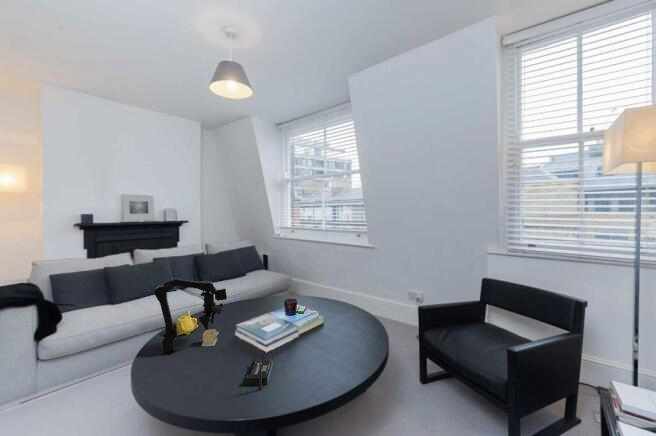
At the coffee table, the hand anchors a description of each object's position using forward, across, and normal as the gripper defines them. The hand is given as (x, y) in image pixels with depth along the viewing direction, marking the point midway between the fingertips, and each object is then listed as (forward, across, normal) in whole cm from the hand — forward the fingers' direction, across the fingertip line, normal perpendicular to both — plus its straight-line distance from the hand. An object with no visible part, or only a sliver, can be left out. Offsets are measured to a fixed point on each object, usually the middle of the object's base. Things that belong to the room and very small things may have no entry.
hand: (209, 326), depth 175 cm
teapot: (+11, +17, +21) cm, 29 cm away
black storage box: (+11, -38, -36) cm, 54 cm away
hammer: (+10, +5, 0) cm, 12 cm away
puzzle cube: (+11, +27, -54) cm, 61 cm away
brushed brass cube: (+9, 0, 0) cm, 9 cm away
